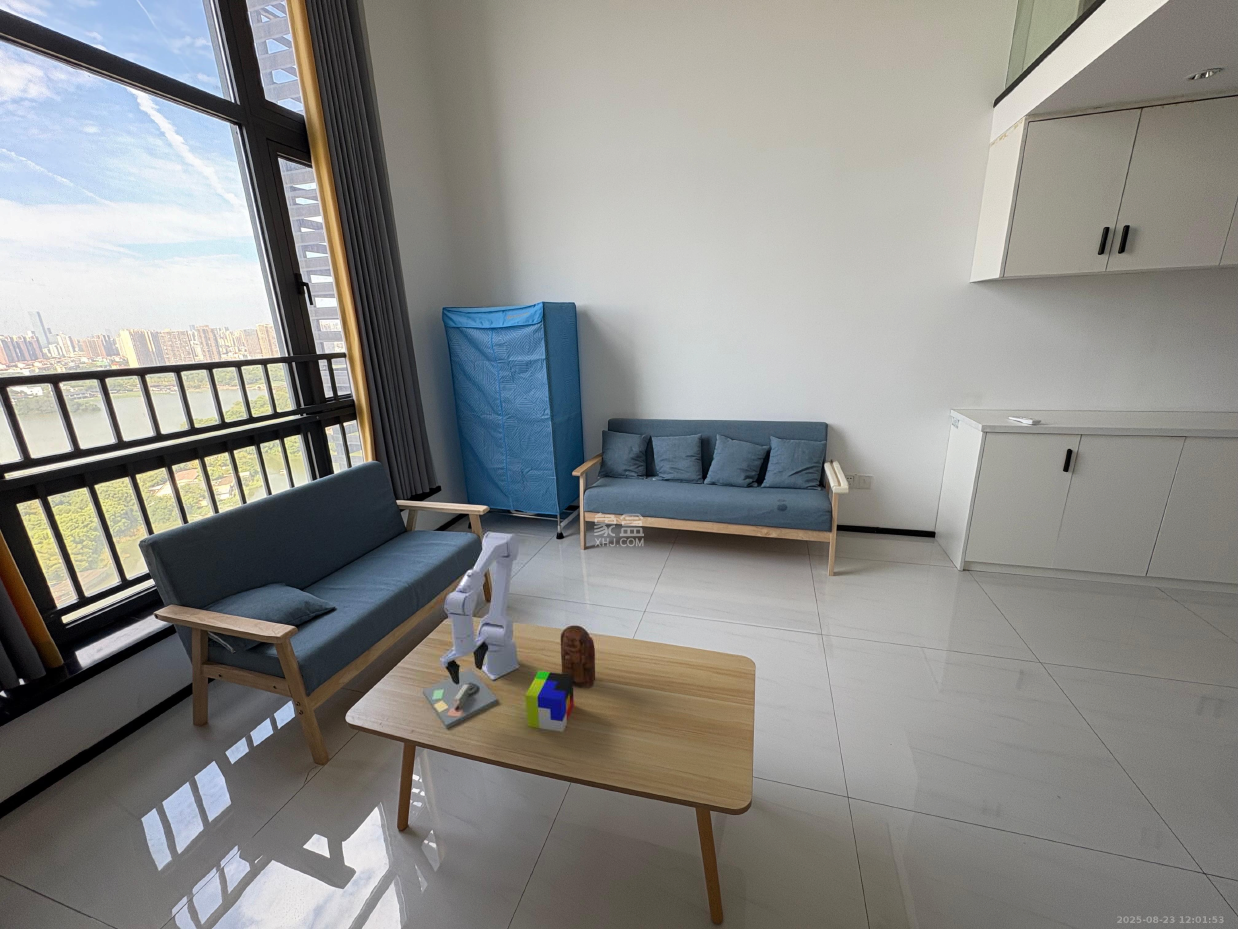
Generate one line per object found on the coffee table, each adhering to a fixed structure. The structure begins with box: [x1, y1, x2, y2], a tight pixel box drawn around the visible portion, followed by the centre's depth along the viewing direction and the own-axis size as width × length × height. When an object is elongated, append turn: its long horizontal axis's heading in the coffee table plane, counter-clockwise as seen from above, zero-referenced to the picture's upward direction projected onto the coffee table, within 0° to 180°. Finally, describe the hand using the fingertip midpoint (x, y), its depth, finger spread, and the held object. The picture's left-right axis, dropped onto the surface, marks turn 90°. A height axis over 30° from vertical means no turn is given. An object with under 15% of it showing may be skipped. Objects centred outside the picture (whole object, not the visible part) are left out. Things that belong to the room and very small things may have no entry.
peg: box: [454, 683, 477, 710], centre depth 141 cm, size 10×4×3 cm, turn 170°
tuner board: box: [422, 668, 498, 729], centre depth 143 cm, size 15×18×1 cm
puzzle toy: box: [525, 670, 575, 733], centre depth 135 cm, size 10×10×10 cm
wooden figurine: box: [560, 625, 596, 689], centre depth 148 cm, size 12×6×18 cm, turn 72°
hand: (467, 675), depth 138 cm, fingers open, 7 cm apart
